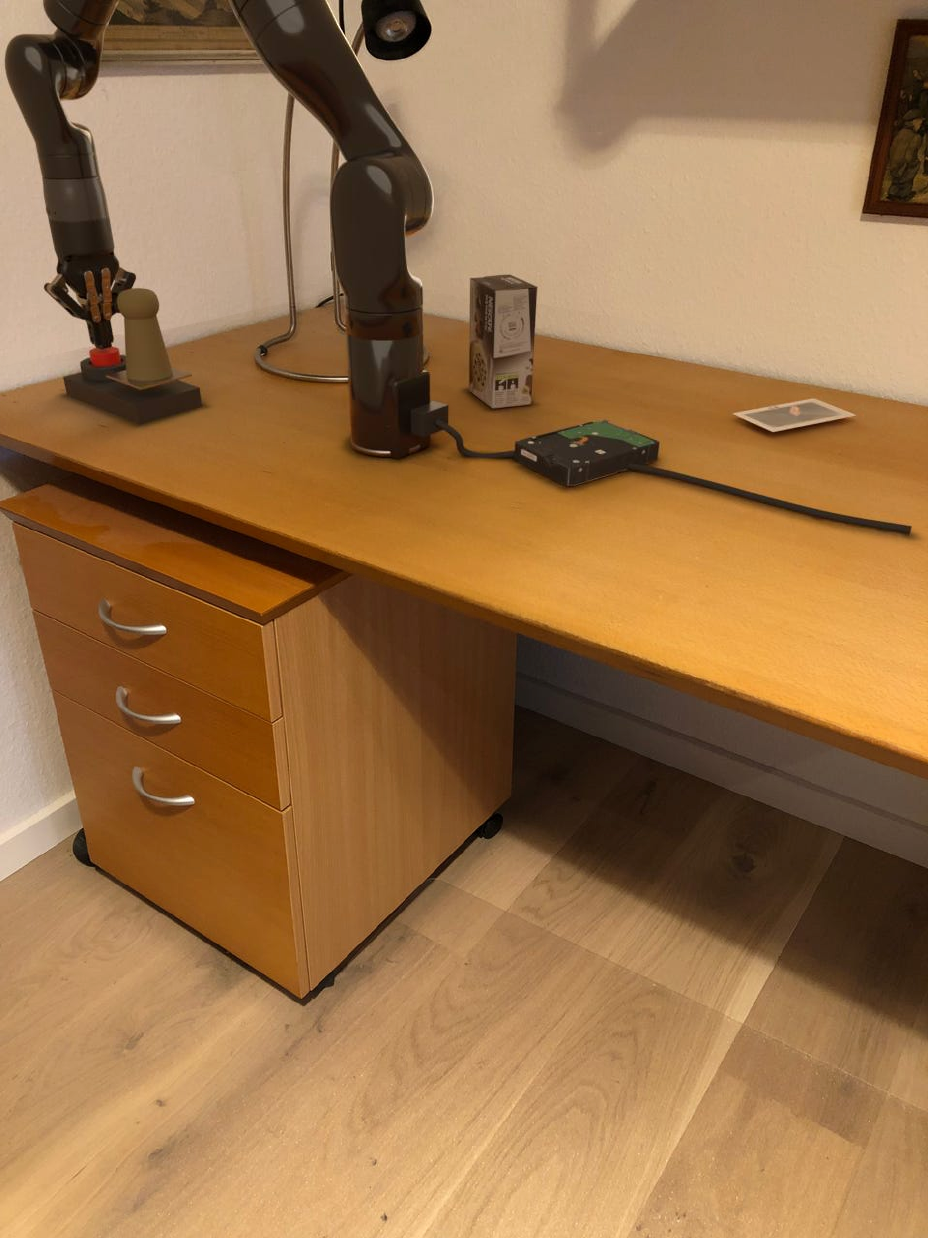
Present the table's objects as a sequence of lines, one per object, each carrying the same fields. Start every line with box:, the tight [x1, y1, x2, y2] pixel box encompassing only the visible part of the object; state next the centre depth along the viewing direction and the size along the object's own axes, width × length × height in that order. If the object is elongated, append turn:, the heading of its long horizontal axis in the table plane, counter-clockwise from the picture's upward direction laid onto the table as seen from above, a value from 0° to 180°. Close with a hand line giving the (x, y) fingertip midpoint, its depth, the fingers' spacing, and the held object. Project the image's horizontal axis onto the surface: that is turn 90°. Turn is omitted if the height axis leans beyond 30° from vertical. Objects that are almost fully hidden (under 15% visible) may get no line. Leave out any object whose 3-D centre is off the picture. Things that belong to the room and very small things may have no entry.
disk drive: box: [513, 419, 661, 487], centre depth 115 cm, size 10×3×15 cm
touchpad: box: [731, 397, 857, 433], centre depth 128 cm, size 8×15×2 cm, turn 117°
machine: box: [62, 354, 203, 426], centre depth 131 cm, size 18×10×4 cm, turn 50°
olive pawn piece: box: [117, 287, 173, 381], centre depth 124 cm, size 6×6×11 cm
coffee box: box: [468, 274, 538, 409], centre depth 132 cm, size 9×6×16 cm
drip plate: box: [106, 366, 193, 390], centre depth 127 cm, size 8×8×1 cm
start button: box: [88, 346, 121, 366], centre depth 133 cm, size 4×4×2 cm
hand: (103, 347), depth 132 cm, fingers closed
